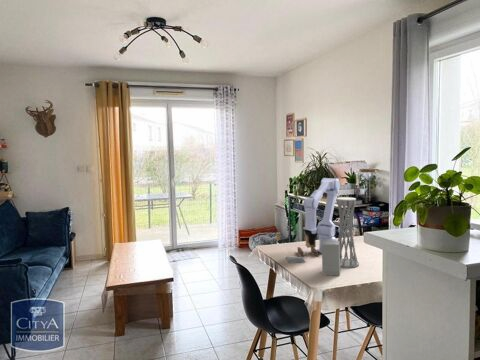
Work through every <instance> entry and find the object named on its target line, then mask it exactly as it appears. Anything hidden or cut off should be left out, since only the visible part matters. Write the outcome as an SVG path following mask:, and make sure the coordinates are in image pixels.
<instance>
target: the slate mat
mask: <svg viewBox="0 0 480 360" xmlns="http://www.w3.org/2000/svg"><path fill="white" fill-rule="evenodd" d="M285 259H286V260H287V262H288V263H290V264H292V263H291V262H296V263H306V261H305V259H304V257H301V256H286V257H285Z"/></svg>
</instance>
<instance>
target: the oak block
mask: <svg viewBox="0 0 480 360" xmlns="http://www.w3.org/2000/svg"><path fill="white" fill-rule="evenodd" d="M316 238H317V237H316ZM316 238H315V242H314V245H310V244H309V238H308V235H306V234H305V247H306V248H310V249H311V247H314V248H316V245H317V244H316Z"/></svg>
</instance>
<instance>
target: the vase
mask: <svg viewBox="0 0 480 360" xmlns="http://www.w3.org/2000/svg"><path fill="white" fill-rule="evenodd" d="M336 205H337V208H338V214H339V233H338V238H337V241H339V244H340V269H341V268H343V269H355V268H358V267H359V266H360V262H359V260H358V258H357V254H356V248H355V247H356V246H355V240H354V233H353V229H354V228H353V225H354V223H353V221H354V220H353V219H354V212H355V206H356V205H357V198H356V197H349V196H348V197H346V196H345V197H344V196H342V197H341V196H340V197H336ZM346 207H347V210H346ZM346 239H347V240H346ZM348 248H349V255H348ZM343 249H344V256H343V257H342V255H343V253H342V252H343Z"/></svg>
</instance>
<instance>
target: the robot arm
mask: <svg viewBox="0 0 480 360" xmlns="http://www.w3.org/2000/svg"><path fill="white" fill-rule="evenodd" d="M340 188H341V181H340V180H339V178H331V177H330V178H328V177H322V179H321V180H320V186H319V187H318V188H317V189H316V190H313V192H312V193H311V195H310V196H308V197H307V198H304V201H303V208H304V212H305V227H304V226H303V228H302V229H303V231H304V233H305V236H306V235H308V238H309V244H310V245H314V242H315V238H317V236H318V237H319V241H318V242H319V246H318V248H317V249H316V250H317V251H318V252H319V253H320V254H322V242H323V241H337V239H336V236H335V235H336V224H335V223H334V222H333V216H334V215H333V214H334V209H335V204H336V201H337V195H338V194H339V191H340ZM324 193H325V194H327V197H326V201H325V207H324V211H323V219H322V220H321V221H319V222H318V224H317V208H319V204H320V201H321V200H322V198H323V196H324V195H323V194H324Z"/></svg>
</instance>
